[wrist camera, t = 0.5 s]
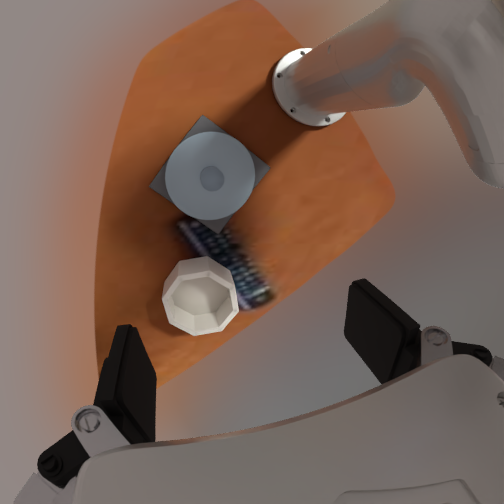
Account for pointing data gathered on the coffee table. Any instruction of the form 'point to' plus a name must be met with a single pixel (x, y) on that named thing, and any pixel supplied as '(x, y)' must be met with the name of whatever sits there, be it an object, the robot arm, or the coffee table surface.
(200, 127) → the mat
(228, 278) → the dish
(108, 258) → the coffee table surface
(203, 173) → the lid
